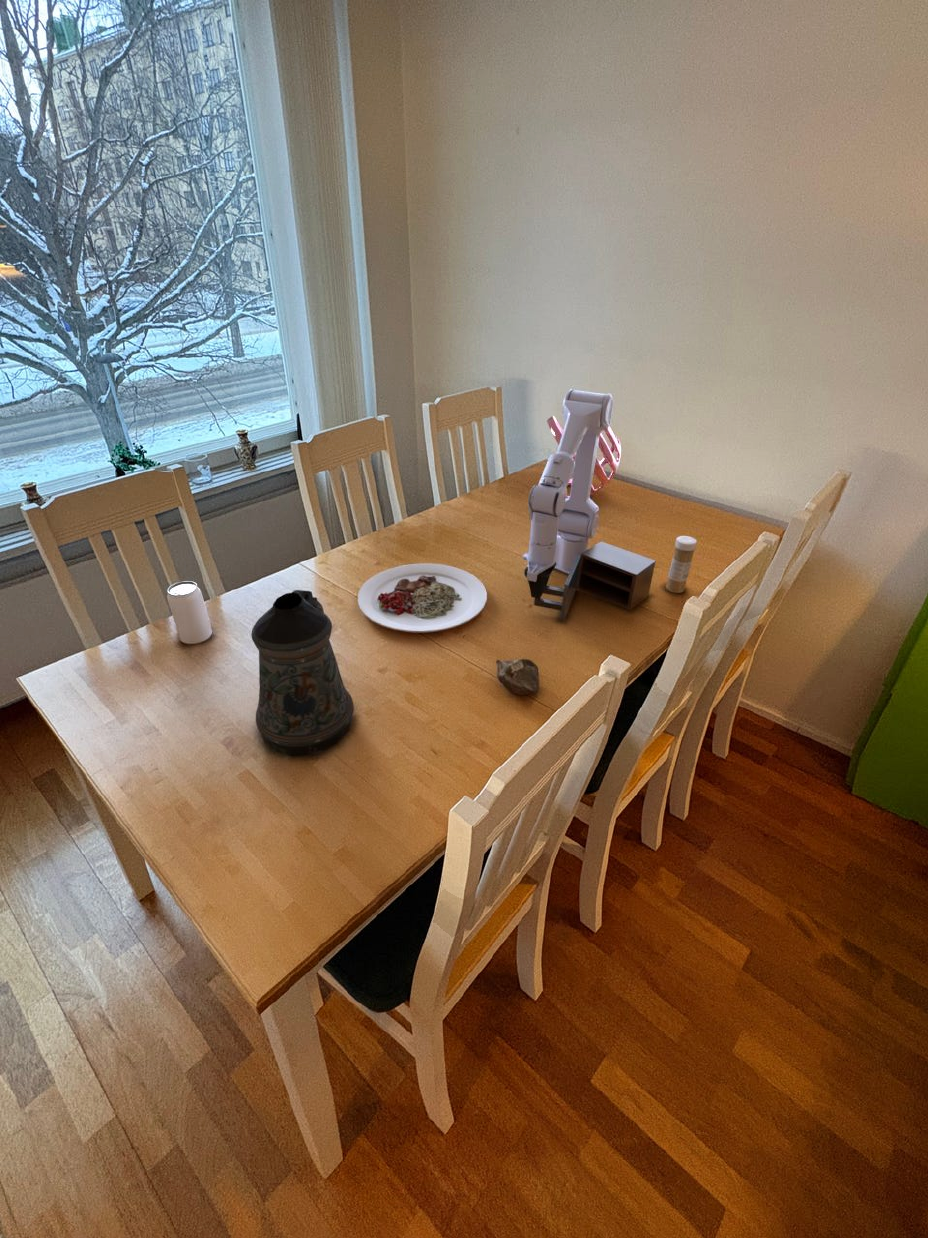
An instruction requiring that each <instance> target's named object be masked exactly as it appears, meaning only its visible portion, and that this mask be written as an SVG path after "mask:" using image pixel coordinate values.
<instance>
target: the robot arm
mask: <svg viewBox="0 0 928 1238" xmlns="http://www.w3.org/2000/svg"><path fill="white" fill-rule="evenodd" d="M613 409H614V397H613V395H612V393H599V392H592V391H583V390H576V389H573V388H570V389H569V390H568V391H567V392H566V393H565V395H564V398H563V402H562V409H561V412H562V411H563V413H562V416H563V417H562V419H563V423H564V427H563V429H562V431H563V433H562V437H561V440H560V444H559V445H558V448H557V451H556V452H554V453H552V454H550V455H549V457H548V459H547V462H546V464H545V467H544V470H543V471H542V475H541V477H540V479H539V482H538V483H537V485H533V486H532V488H531V490H530V492H529V495H528V501H527V509H528V511H529V514H528V517H529V520H530V532H529V544H528V552H525V553H524V554H522V555H523V556H522V560H524V561H526V562H527V566H526V567H525V569H524V570H523V574H524V576H525V578H526V581H527V583H528V586H529V592H530V596H531V598H533V599H534V598H538V599H540V598H542V596H543V594H544V593H543V590H544V586H545V585H547V586H548V582H549V579H550V577H551V575H552V572H553V571H554V570H557V571H560V572H562V573H565V574H568V575H569V574H570V571H571V569H572V567H573V564H574V562H575V560H576V557H577V555H580V556H581V553H583V552H585V551H586V550H588V549H589V541H590V539H592V538H594V537H595V535H596V533H597V530H598V526H599V521H600V517H599V513H600V507H599V506H598V505H597V504H596V502H594V501H593V499H591V496H590V491H591V485H592V486H593V478H594V475H593V473H594V467H595V461H596V457H597V453H598V449H599V446H598V442H599V437H600V434H601V433H602V432H603V431H604V430H607V429H609V427H610V425H611V422H612V416H613V411H614V410H613ZM574 454H576V457H575V462H574V460H573V456H574ZM573 470H574V471H573ZM571 478H572V484H571V485H570V491H569V496H570V497H568V498H566V496H568V489H567V488H568V486H569V485H568V483H569V481H570V479H571Z"/></svg>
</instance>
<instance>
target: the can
mask: <svg viewBox="0 0 928 1238" xmlns="http://www.w3.org/2000/svg"><path fill="white" fill-rule="evenodd" d="M166 591H167V597H166V598H167V602H168V606H169V608H170V612H171V616H172V619H173V622H174V626H175V628H176V631H177V635H178V637H179V640H180V642H182V643H184V644H186V645H199V644H201V643H203V642H205V641H207V640H209V639H210V637H211V636H212V633H213V629H212V626H211V622H210V619H209V615H208V611H207V608H206V604H205V599H204V597H203V593H202V590H201V589H200V588H199V587H198V584H197V583H196V582H194V581H191V580H185V581H179V582H176V583H173V584H172V585H170V586H169V587H167V590H166Z"/></svg>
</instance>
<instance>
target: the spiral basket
mask: <svg viewBox="0 0 928 1238" xmlns="http://www.w3.org/2000/svg"><path fill="white" fill-rule="evenodd" d="M561 413H562V414H563V411H562V410H561ZM546 423H547V425H548V427H549V430H550V431H551V433H552V435H553V437H554V439H555V441H556V443H557V445H558V446H559V444H560V440H561V437H562V433H563V429H562V427H561V426H560V423H559V422H558V421H557V419H556V417H555V416H554V415H552V416H550V417H549V418H547V420H546ZM603 431H604V434H605V435H606V437H607V439H608V441H609V442H610V445H611V446H610V447H609V444H608V443H607V441H606V439H605V437H604V436H603V434H602V432H601V434H600V437H599V442H598V449H599V450H600V452H601V453H602V458H601V459H600V460H599V459H598V457H597V456H596V461H595V467H594V473H593V476H594V475H595V476H596V477H597V479H598V480H599V482H600V484H601V485H599V486H598V487H597V488H594V486H593V484H592V485H591V491H590V497H591V496H594V495H595V494H597V493H599V492H600V491H601V490H603V489H604V488H605V487H607V486H608V484H609V483H610V482H611V480H612V479H613V478H614V476H615V474H616V473H617V471H618V469H619V465H620V460H621V454H622V446H621V441H620V439H619V438H618V436H617V435H615V434H614V432H613V430H612V428H611V427H610V426H609V429H607V430H603ZM614 452H615V453H616V454H617V456H616V458H615V456H614ZM575 457H576V453H575V454H574V456H573V460H574V462H575ZM606 464H608V466H609V468H610V469H611V473H610V475H608V476H607V474H606V472H605V471H604V466H605V465H606ZM573 471H574V470H573ZM572 478H573V477H571V478H570V481H569V483H568V486H571V484H572ZM568 497H570V495H566V498H568Z"/></svg>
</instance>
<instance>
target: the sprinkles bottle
mask: <svg viewBox="0 0 928 1238" xmlns="http://www.w3.org/2000/svg"><path fill="white" fill-rule="evenodd" d="M697 543H698V540H697V539H696V538H695V537H692V536H689V535H680V536H677V537H676V539H675V542H674V550H673V551H674V552H673V556H672V559H671V564H670V567H669V571H668V577H667V582H666V584H665V589H666V590H667V591H668V592H670V593H675V594H681V593H684V592H685V590H686V584H687V580H688V578H689V573H690V570H691V566H692V562H693V557H694V552H695V550H696V548H697Z"/></svg>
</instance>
